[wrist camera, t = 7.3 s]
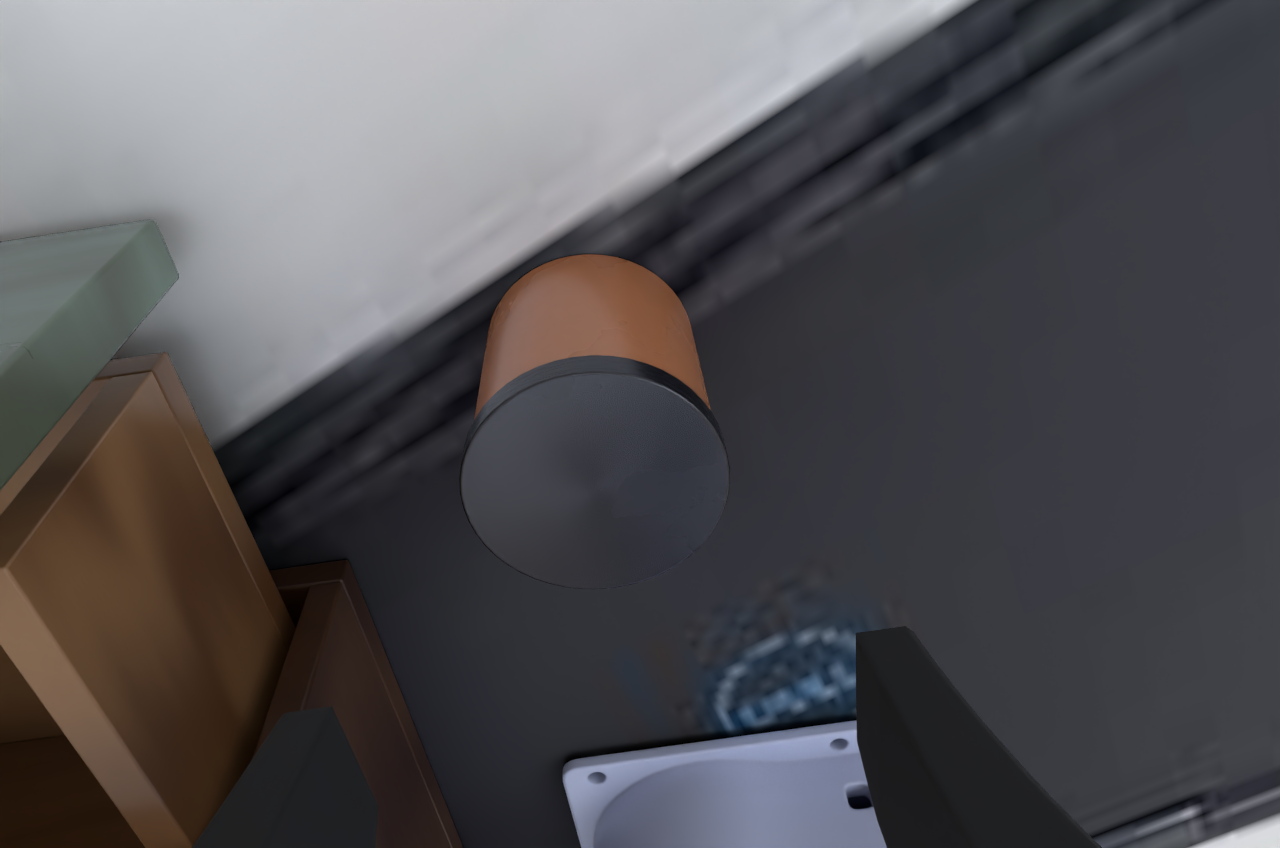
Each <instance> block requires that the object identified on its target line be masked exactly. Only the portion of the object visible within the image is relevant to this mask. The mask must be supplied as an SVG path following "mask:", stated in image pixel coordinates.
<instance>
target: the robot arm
mask: <svg viewBox="0 0 1280 848" xmlns="http://www.w3.org/2000/svg"><path fill="white" fill-rule="evenodd" d="M856 708H857V720H854V721H847V722H839V723H832V724H825V725H818V726H810V727H803V728H796V729H789V730H781V731H774V732H767V733H760V734H752V735H745V736H738V737H731V738H723V739H716V740H709V741H701V742H694V743H687V744H680V745H672V746H665V747H658V748H651V749H643V750H636V751H629V752H622V753H614V754H607V755H600V756H593V757H585V758H578V759H574V760H571V761H569V762H568V763H566V764H565V765H564V767H563V784H564V788H565V791H566V795H567V799H568V802H569V806H570V809H571V813H572V816H573V820H574V823H575V827H576V830H577V834H578V837H579V841H580V845H581V848H1102V847H1101V846H1100V845H1099V844H1098V843H1096V842H1095V841H1094V840H1093V839H1092V838H1091V837H1090V836H1089V835H1088V834H1087V833H1086V832H1085V831H1084V830H1083V829H1082V828H1081V827H1080V826H1079V825H1078V824H1077V823H1076V822H1075V821H1074V820H1073V819H1072V818H1071V817H1070V815H1069V814H1068V813H1067V812H1066V811H1065V810H1064V809H1063V808H1062V807H1061V806H1060V805H1059V804H1058V803H1057V802H1056V801H1055V800H1054V799H1053V798H1052V797H1051V796H1050V795H1049V794H1048V793H1047V792H1046V791H1045V790H1044V789H1043V788H1042V787H1041V785H1040V784H1039V783H1038V782H1037V781H1036V780H1035V779H1034V778H1033V777H1032V776H1031V775H1030V774H1029V772H1028V771H1027V770H1026V769H1025V768H1024V767H1023V766H1022V765H1021V764H1020V762H1019V761H1018V760H1017V759H1016V758H1015V757H1014V756H1013V755H1012V754H1011V752H1010V751H1009V750H1008V749H1007V748H1006V747H1005V746H1004V745H1003V744H1002V742H1001V741H1000V740H999V739H998V738H997V737H996V736H995V735H994V733H993V732H992V731H991V730H990V729H989V728H988V726H987V725H986V724H985V723H984V722H983V721H982V719H981V718H980V717H979V716H978V715H977V713H976V712H975V711H974V710H973V709H972V707H971V706H970V705H969V704H968V703H967V701H966V700H965V699H964V698H963V696H962V695H961V694H960V693H959V692H958V690H957V689H956V688H955V687H954V685H953V684H952V683H951V681H950V680H949V679H948V678H947V676H946V675H945V674H944V673H943V671H942V670H941V669H940V667H939V666H938V665H937V663H936V662H935V661H934V659H933V658H932V657H931V655H930V654H929V653H928V651H927V650H926V649H925V647H924V646H923V645H922V643H921V642H920V640H919V639H918V637H917V636H916V635H915V633H914V632H913V631H911V630H910V629H908V628H907V627H906V626H904V627H897V628H889V629H882V630H875V631H868V632H861V633H856ZM377 819H378V804H377V802H376V800H375V798H374V795H373V793H372V791H371V789H370V787H369V785H368V783H367V780H366V778H365V776H364V774H363V772H362V770H361V767H360V765H359V763H358V761H357V759H356V757H355V755H354V752H353V750H352V748H351V746H350V744H349V742H348V740H347V737H346V735H345V733H344V731H343V729H342V727H341V724H340V722H339V720H338V718H337V716H336V714H335V712H334V709H333V707H332V706H331V707H324V708H316V709H309V710H302V711H295V712H288V713H284V714H283V715H282V717H281V718H280V719H279V720H278V722H277V723H276V725H275V726H274V728H273V729H272V731H271V732H270V734H269V735H268V736H267V738H266V739H265V741H264V742H263V744H262V745H261V747H260V748H259V750H258V751H257V753H256V754H255V756H254V757H253V759H252V760H251V762H250V763H249V765H248V766H247V768H246V769H245V771H244V772H243V774H242V775H241V777H240V778H239V780H238V781H237V783H236V784H235V786H234V787H233V789H232V790H231V792H230V793H229V795H228V796H227V798H226V799H225V801H224V802H223V804H222V805H221V807H220V808H219V810H218V811H217V813H216V814H215V815H214V817H213V818H212V820H211V821H210V823H209V824H208V826H207V827H206V829H205V830H204V831H203V833H202V834H201V836H200V837H199V838H198V840H197V841H196V843H195V844H194V846H193V847H192V848H375V845H376V832H377Z"/></svg>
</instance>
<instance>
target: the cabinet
mask: <svg viewBox="0 0 1280 848" xmlns="http://www.w3.org/2000/svg"><path fill="white" fill-rule="evenodd" d="M269 572H270V574H271V576H272V579H273V581H274V583H275V585H276V587H277V589H278V592H279V594H280V596H281V598H282V600H283V602H284V604H285V607H286V609H287V611H288V613H289V615H290V617H291V619H292V622H293V624H294V626H295V628H296V629H295V632H294V635H293V638H292V641H291V644H290V647H289V650H288V653H287V656H286V659H285V662H284V665H283V668H282V671H281V674H280V677H279V680H278V683H277V686H276V689H275V692H274V695H273V698H272V701H271V704H270V707H269V710H268V713H267V716H266V719H265V722H264V725H263V728H262V731H261V734H260V737H259V740H258V743H257V746H256V749H255V752H254V755H253V757H254V756H255V754H256V753H257V751H258V750H259V748H260V747H261V745H262V744H263V742H264V741H265V739H266V738H267V736H268V735H269V734H270V732H271V731H272V729H273V728H274V726H275V725H276V723H277V722H278V720H279V719H280V718H281V717H282V715H283V714H284V713H288V712H295V711H302V710H309V709H316V708H324V707H331V706H332V707H333V709H334V712H335V714H336V716H337V718H338V720H339V722H340V724H341V727H342V729H343V731H344V733H345V735H346V737H347V740H348V742H349V744H350V746H351V748H352V750H353V752H354V755H355V757H356V759H357V761H358V763H359V765H360V767H361V770H362V772H363V774H364V776H365V778H366V780H367V783H368V785H369V787H370V789H371V791H372V793H373V795H374V798H375V800H376V802H377V804H378V819H377V832H376V845H375V848H463V846H462V843H461V841H460V838H459V836H458V833H457V831H456V828H455V826H454V823H453V821H452V818H451V816H450V813H449V811H448V808H447V806H446V803H445V801H444V798H443V796H442V793H441V791H440V788H439V786H438V783H437V781H436V778H435V776H434V773H433V771H432V768H431V766H430V763H429V761H428V758H427V756H426V753H425V751H424V748H423V746H422V743H421V741H420V738H419V736H418V733H417V731H416V728H415V726H414V723H413V721H412V718H411V716H410V713H409V711H408V708H407V706H406V703H405V701H404V698H403V696H402V693H401V691H400V688H399V686H398V683H397V681H396V678H395V676H394V673H393V671H392V668H391V666H390V663H389V661H388V658H387V656H386V653H385V651H384V648H383V646H382V643H381V641H380V638H379V636H378V633H377V631H376V628H375V626H374V623H373V621H372V618H371V616H370V613H369V611H368V608H367V606H366V603H365V601H364V598H363V596H362V593H361V591H360V588H359V586H358V583H357V581H356V578H355V576H354V573H353V571H352V568H351V566H350V563H349V561H348V560H340V561H333V562H326V563H319V564H312V565H305V566H298V567H291V568H284V569H277V570H270V571H269ZM252 759H253V758H252Z"/></svg>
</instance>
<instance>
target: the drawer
mask: <svg viewBox="0 0 1280 848" xmlns="http://www.w3.org/2000/svg"><path fill="white" fill-rule="evenodd" d="M178 278H179V274H178V271H177V269H176V267H175V265H174V262H173V260H172V258H171V255H170V253H169V251H168V248H167V246H166V244H165V242H164V239H163V237H162V235H161V232H160V230H159V228H158V225H157V223H156V222H155V220H143V221H136V222H130V223H123V224H117V225H110V226H103V227H97V228H90V229H83V230H77V231H70V232H63V233H57V234H50V235H43V236H37V237H30V238H23V239H17V240H10V241H3V242H0V848H192V847H193V846H194V844H195V843H196V841H197V840H198V838H199V837H200V836H201V834H202V833H203V831H204V830H205V829H206V827H207V826H208V824H209V823H210V821H211V820H212V818H213V817H214V815H215V814H216V813H217V811H218V810H219V808H220V807H221V805H222V804H223V802H224V801H225V799H226V798H227V796H228V795H229V793H230V792H231V790H232V789H233V787H234V786H235V784H236V783H237V781H238V780H239V778H240V777H241V775H242V774H243V772H244V771H245V769H246V768H247V766H248V765H249V763H250V762H251V760H252V758H253V755H254V752H255V749H256V746H257V743H258V740H259V737H260V734H261V731H262V728H263V725H264V722H265V719H266V716H267V713H268V710H269V707H270V704H271V701H272V698H273V695H274V692H275V689H276V686H277V683H278V680H279V677H280V674H281V671H282V668H283V665H284V662H285V659H286V656H287V653H288V650H289V647H290V644H291V641H292V638H293V635H294V632H295V629H296V628H295V626H294V624H293V622H292V619H291V617H290V615H289V613H288V611H287V609H286V607H285V604H284V602H283V600H282V598H281V596H280V594H279V592H278V589H277V587H276V585H275V583H274V581H273V579H272V576H271V574H270V572H269V570H268V568H267V566H266V564H265V561H264V559H263V557H262V555H261V553H260V551H259V549H258V546H257V544H256V542H255V540H254V538H253V536H252V534H251V531H250V529H249V527H248V525H247V523H246V521H245V518H244V516H243V514H242V512H241V510H240V508H239V506H238V503H237V501H236V499H235V497H234V495H233V493H232V491H231V488H230V486H229V484H228V482H227V480H226V478H225V475H224V473H223V471H222V469H221V467H220V465H219V463H218V460H217V458H216V456H215V454H214V452H213V450H212V448H211V445H210V443H209V441H208V439H207V437H206V435H205V432H204V430H203V428H202V426H201V424H200V422H199V420H198V417H197V415H196V413H195V411H194V409H193V407H192V405H191V402H190V400H189V398H188V396H187V394H186V392H185V390H184V387H183V385H182V383H181V381H180V379H179V377H178V374H177V372H176V370H175V368H174V366H173V364H172V362H171V359H170V357H169V355H168V354H167V352H162V353H155V354H148V355H141V356H134V357H128V358H121V359H114V360H110V359H111V358H112V357H113V356H114V355H115V354H116V352H117V351H118V350H119V349H120V348H121V346H122V345H123V344H124V343H125V342H126V340H127V339H128V338H129V337H130V336H131V334H132V333H133V332H134V331H135V330H136V328H137V327H138V326H139V325H140V324H141V322H142V321H143V320H144V319H145V318H146V317H147V315H148V314H149V313H150V312H151V311H152V309H153V308H154V307H155V306H156V305H157V303H158V302H159V301H160V300H161V299H162V297H163V296H164V295H165V294H166V293H167V291H168V290H169V289H170V288H171V287H172V285H173V284H174V283H175V282H176V281H177V280H178Z"/></svg>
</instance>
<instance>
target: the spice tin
mask: <svg viewBox="0 0 1280 848" xmlns="http://www.w3.org/2000/svg"><path fill="white" fill-rule="evenodd" d="M459 480H460V495H461V499H462V504H463V508H464V511H465V513H466V516H467V518H468V521H469V523H470V524H471V526H472V528H473V529H474V531H475V533H476V535H477V536H478V537H479V538H480V540H481V541H482V542H483V543H484V545H485V546H486V547H487V548H488V549H489V550H490V551H491V552H492V553H493V554H494V555H495V556H497V557H498V558H499V559H501V560H502V561H503V562H505V563H506V564H507V565H509V566H510V567H512V568H514V569H516V570H517V571H519V572H521V573H523V574H525V575H527V576H530V577H532V578H534V579H537V580H540V581H543V582H546V583H550V584H554V585H558V586H563V587H569V588H579V589H605V588H616V587H621V586H626V585H631V584H635V583H638V582H641V581H645V580H648V579H650V578H653V577H655V576H658V575H660V574H662V573H664V572H666V571H668V570H670V569H671V568H673V567H675V566H677V565H678V564H679V563H681V562H682V561H684V560H685V559H687V558H688V557H689V556H690V555H691V554H693V553H694V552H695V551H696V550H697V549H698V548H699V547H700V546H701V545H702V544H703V543H704V542H705V541H706V539H707V538H708V537H709V536H710V534H711V533H712V531H713V530H714V528H715V527H716V525H717V524H718V522H719V519H720V517H721V515H722V513H723V511H724V508H725V505H726V502H727V499H728V493H729V487H730V467H729V461H728V456H727V452H726V447H725V443H724V439H723V436H722V433H721V430H720V428H719V425H718V423H717V421H716V419H715V417H714V415H713V414H712V412H711V409H710V405H709V401H708V397H707V392H706V388H705V384H704V380H703V375H702V371H701V367H700V363H699V358H698V354H697V350H696V346H695V341H694V337H693V333H692V329H691V324H690V321H689V318H688V316H687V313H686V311H685V309H684V307H683V305H682V303H681V301H680V300H679V298H678V297H677V296H676V294H675V293H674V291H673V290H672V289H671V288H670V287H669V286H668V285H667V284H666V283H665V282H664V281H663V280H662V279H660V278H659V277H658V276H656V275H655V274H654V273H652V272H651V271H649V270H647V269H646V268H644V267H642V266H640V265H638V264H635V263H633V262H631V261H628V260H625V259H621V258H618V257H613V256H607V255H596V254H584V255H573V256H568V257H564V258H559V259H556V260H553V261H550V262H548V263H545V264H543V265H541V266H539V267H537V268H535V269H533V270H532V271H530V272H529V273H527V274H526V275H524V276H523V277H522V278H520V279H519V280H518V281H517V282H516V283H515V284H514V285H512V287H511V288H510V289H509V290H508V291H507V292H506V294H505V295H504V296H503V298H502V299H501V301H500V302H499V304H498V305H497V307H496V310H495V312H494V314H493V316H492V319H491V322H490V326H489V329H488V336H487V342H486V349H485V355H484V361H483V368H482V374H481V380H480V387H479V393H478V399H477V406H476V412H475V419H474V421H473V424H472V426H471V428H470V430H469V432H468V435H467V438H466V442H465V445H464V450H463V456H462V462H461V470H460V478H459Z"/></svg>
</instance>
